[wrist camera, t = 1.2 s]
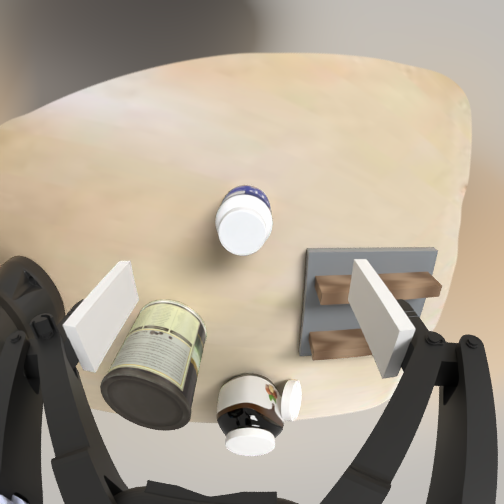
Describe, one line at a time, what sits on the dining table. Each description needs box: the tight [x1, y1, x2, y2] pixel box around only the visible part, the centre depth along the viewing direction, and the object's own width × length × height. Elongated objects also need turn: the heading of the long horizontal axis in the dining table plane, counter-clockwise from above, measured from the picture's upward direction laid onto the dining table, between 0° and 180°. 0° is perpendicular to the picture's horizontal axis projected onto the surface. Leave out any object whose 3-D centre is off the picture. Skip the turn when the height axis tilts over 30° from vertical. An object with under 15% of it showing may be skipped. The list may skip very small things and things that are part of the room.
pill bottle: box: [215, 185, 273, 256], centre depth 28 cm, size 5×5×9 cm
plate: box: [299, 247, 438, 356], centre depth 36 cm, size 18×16×1 cm
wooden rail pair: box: [309, 271, 442, 360], centre depth 33 cm, size 16×10×4 cm, turn 91°
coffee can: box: [101, 300, 207, 430], centre depth 32 cm, size 10×10×14 cm
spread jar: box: [217, 374, 301, 456], centre depth 38 cm, size 12×11×12 cm
